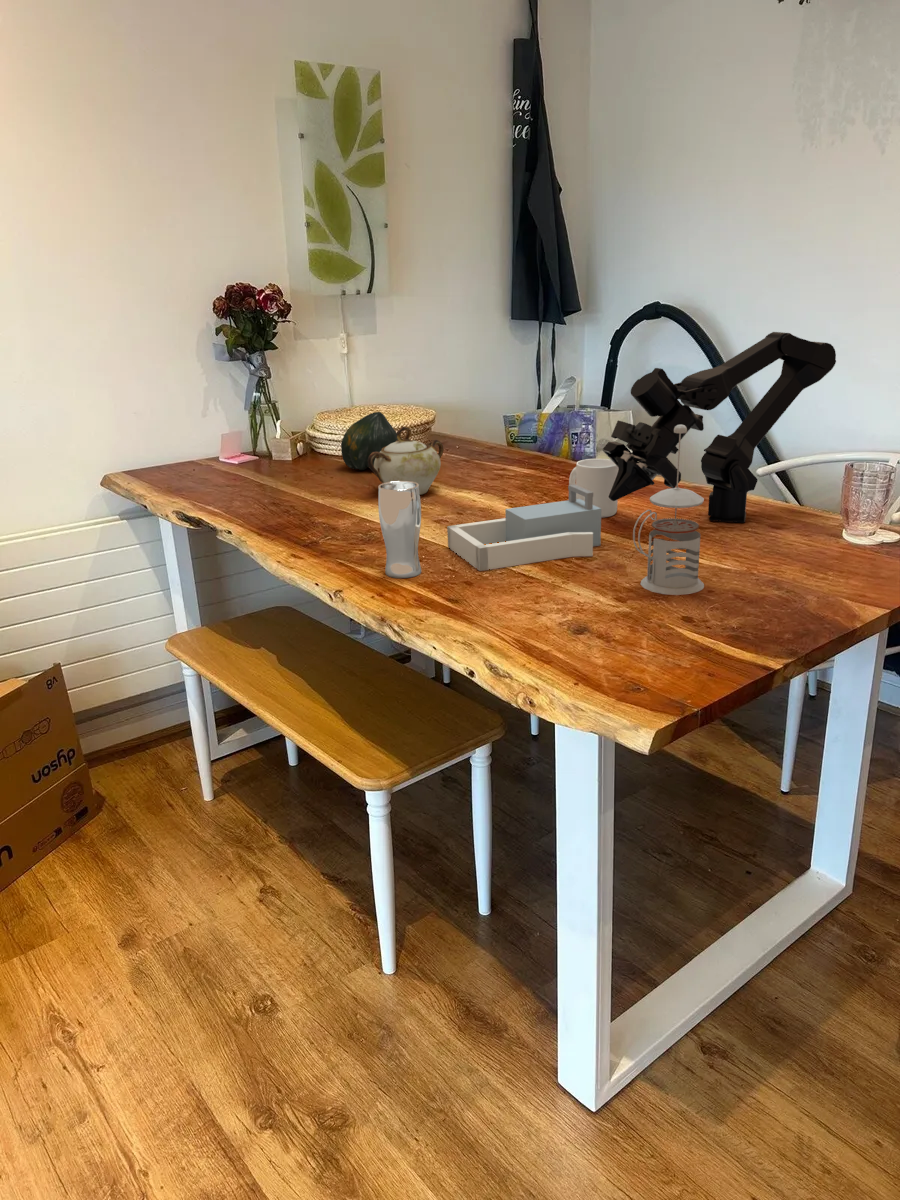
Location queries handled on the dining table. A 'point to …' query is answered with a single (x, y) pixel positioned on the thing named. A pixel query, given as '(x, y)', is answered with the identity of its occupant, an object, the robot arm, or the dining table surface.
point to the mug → (596, 482)
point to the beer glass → (400, 527)
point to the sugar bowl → (407, 461)
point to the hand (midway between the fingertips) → (610, 499)
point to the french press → (673, 542)
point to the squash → (366, 440)
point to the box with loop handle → (556, 518)
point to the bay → (512, 545)
